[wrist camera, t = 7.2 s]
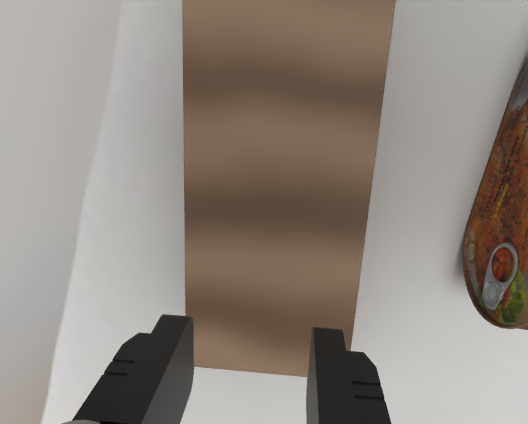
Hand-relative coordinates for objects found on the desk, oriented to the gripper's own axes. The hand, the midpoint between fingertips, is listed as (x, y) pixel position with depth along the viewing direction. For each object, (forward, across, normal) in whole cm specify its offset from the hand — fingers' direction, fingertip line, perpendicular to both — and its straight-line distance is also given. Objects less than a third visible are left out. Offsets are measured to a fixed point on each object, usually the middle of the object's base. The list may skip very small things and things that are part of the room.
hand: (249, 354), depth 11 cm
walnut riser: (+16, 0, 0) cm, 16 cm away
